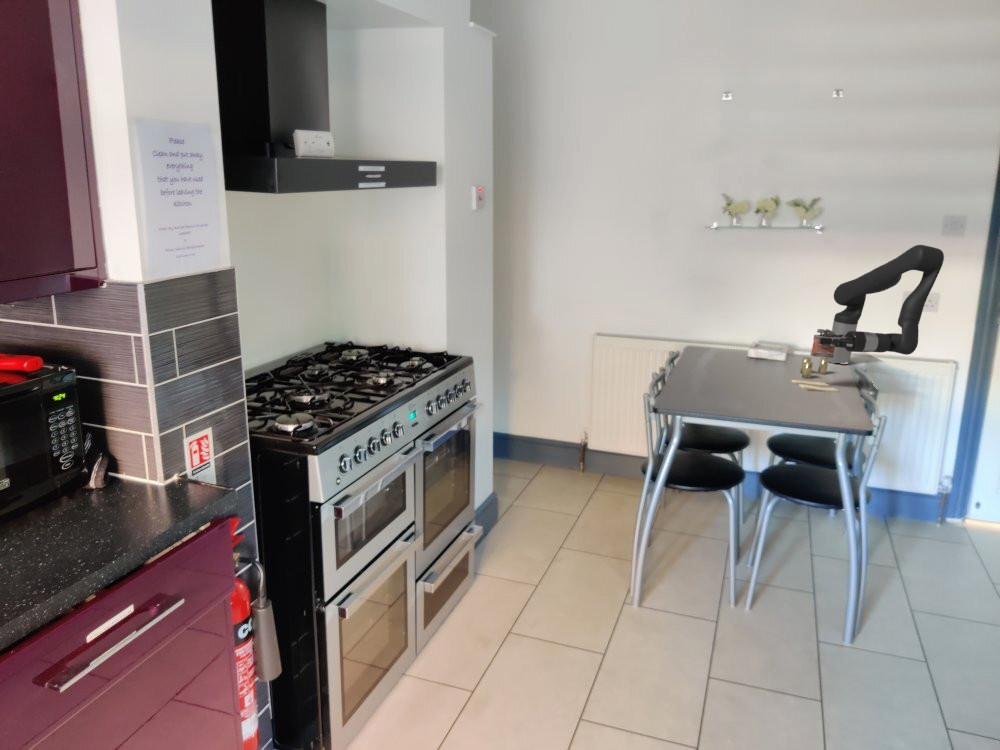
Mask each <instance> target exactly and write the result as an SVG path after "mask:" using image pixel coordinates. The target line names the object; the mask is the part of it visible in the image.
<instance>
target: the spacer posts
mask: <svg viewBox="0 0 1000 750" xmlns="http://www.w3.org/2000/svg"><path fill="white" fill-rule="evenodd" d="M828 361H829V359H828V358H825V357H820V360H819V364H818V365H819V366H818V370H817V374H819V375H827V370H828V366H829V362H828ZM813 364H814V363H813V362H812V358H811V357H806V356H802V361H801V367H800V372H799V373H800V374H801V378H802V379H804V380H810V379H811V375H812V371H813V366H814V365H813Z"/></svg>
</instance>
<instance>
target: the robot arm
mask: <svg viewBox="0 0 1000 750" xmlns="http://www.w3.org/2000/svg"><path fill="white" fill-rule="evenodd" d="M944 261H945V254H944V252H943V250H942V249H940V248H937V247H933V246H929V245H926V244H918V245H917V244H916V245H914V246H912V247H910V248H908V249H907V250H906V251H904V252H903V253H901V254H900V255H898V256H896V257H895V258H893V259H891V260H889V261H888V262H886V263H884V264H882V265H880V266H877V267H875V268H874V269H872V270H871V271H869V272H866V273H864V274H863V275H861V276H859V277H857V278H855V279H854V278H853V279H851V280H847V281H845V282H843V283H840V284H839V285H838V286H837V287H836V288H835V290H834V293H833V300H834V302H835V303H837V305H839V306H844V307H846V308H844V310H841V311H840V312H839V311H838V312H837V313H835V314H834V318H833V323H832V328H831V331H835V333H834V336H835V337H836V338H831V339H830V338H820V342H819V343H820V344H825V345H831V346H835V348H834V353H833V355H834V356H833V358H828V359H829V361H828V363H830V362H831V364H834V363H845V362H849V363H850V361H851V360H850V359H851V356H852V353H886V352H890V353H896V354H897V353H898V354H901V355H904V356H906V355H907V356H908V355H911V354H913V353H914V352H915V351H916V349H917V347H918V344H919V332H920V331H919V324H920V321H921V318H922V313H923V312H924V307H925V305H926V301H927V300H928V297H929V295H930V293H931V291H932V288H933V287H934V286H935V285H934V284H935V283H936V280H937V278H938V275H939V274H940V273H941V272H940V271H941V269H942V267H943V264H944ZM909 271H918V272H922V276H921V279H920V282H919V283H918V284H917V286H916V287H915V288H914V290H913V291H912V292H911V293H910V294H908V296H907V297H906V298H905V300H904V302H903V303H902V305H901V308H900V311H899V315H898V319H897V325H898V326H899V327H900V328H901V333H898V332H897V333H896V332H894V333H893V332H891V333H890V332H889V333H880V332H870V331H860V330H859V331H858V330H857V328H858V323H859V320H860V318H861V316H862V314H863V310H864V307H865V303H866V299H867V295H870V294H871V295H872V294H877V293H880V292H884V291H886V290H889V289H891V288H893V287H895V286H896V285H898V283H900V281H901V280H902V275H903V274H904V273H908V272H909ZM813 341H814V338H813Z"/></svg>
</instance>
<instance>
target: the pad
mask: <svg viewBox="0 0 1000 750" xmlns="http://www.w3.org/2000/svg"><path fill="white" fill-rule="evenodd" d="M791 382H792V383H794V384H795V385H798V386H799V387H800V388H802V389H804V390H806V391H808V392H809V391H810V392H824V393H825V392H827V393H839V389H836V388H834V387H833V386H830V384H828V383H825V382H824V381H821V380H810V379H791Z"/></svg>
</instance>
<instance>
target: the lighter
mask: <svg viewBox="0 0 1000 750" xmlns="http://www.w3.org/2000/svg"><path fill="white" fill-rule="evenodd" d="M816 333H817V334H814V335H813V339H814V340H813V342H812V347H811V352H810V356H812V357H816V358H833V356H834V355H833V353H834V348H835V346H831V345H825V344H820V343H819V342H820V338H830V339H831V338H836V337H835V336H834V333H835V331H832V330H830V329H828V328H826V329H823V328H817V330H816ZM818 333H819V334H818Z"/></svg>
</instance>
